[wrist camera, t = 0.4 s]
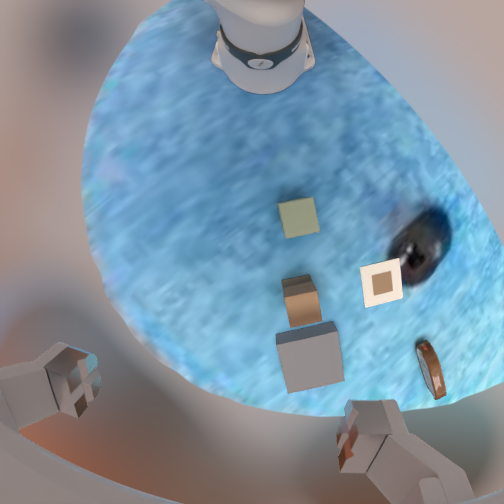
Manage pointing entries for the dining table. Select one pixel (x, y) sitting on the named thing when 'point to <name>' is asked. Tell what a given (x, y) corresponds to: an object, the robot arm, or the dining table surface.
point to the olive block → (298, 217)
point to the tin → (431, 369)
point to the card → (381, 282)
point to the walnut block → (301, 301)
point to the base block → (310, 357)
